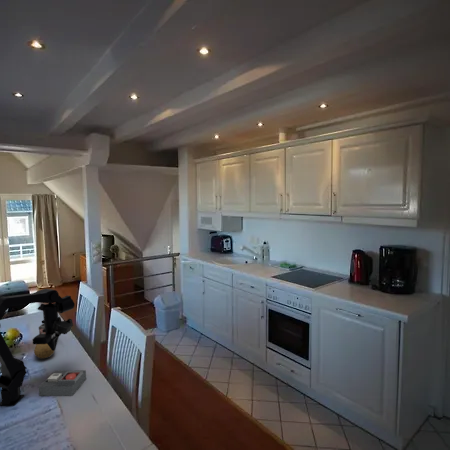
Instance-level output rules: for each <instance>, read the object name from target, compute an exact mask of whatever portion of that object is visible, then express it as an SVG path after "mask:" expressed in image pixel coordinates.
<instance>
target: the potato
mask: <svg viewBox="0 0 450 450" xmlns="http://www.w3.org/2000/svg"><path fill="white" fill-rule="evenodd" d="M33 351H34V352H33V353H34V356H36V357H37V358H38V359H47V358H49V357H51V356H52V355H53V354H54V353H55V350H54V351H52V350H51V348H50V347H49V346H48V344H35V347H34V350H33Z"/></svg>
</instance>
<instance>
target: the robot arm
mask: <svg viewBox="0 0 450 450" xmlns="http://www.w3.org/2000/svg"><path fill="white" fill-rule="evenodd" d="M36 303H41V304H40V305H39V306H38V307H37V310H39V311H42V314H43V319H42V320H41V324H44V328H45V329H43V330H42V331H43V332H45V334H39V333H38V334H37V335H36V336H34V337H33V338H32V345H37V344H48V346H49V347H50V348H51V350H52V351H54V352H55V351H56V348H57V345H58V342H59V341H58V340H59V337H60V336H61V335H67V334H68V333H69V332H71V330H72V328H73V326H74V323H73V319H72V318H68V319H66V320H62V317H61V316H59V314H63V313H66V312H68V311H72V310H73V309H74V308H75V301H74V300H73V299H72V296H71V295H65V296H64V297H61V296H60V294H59V292H58V290H57V289H50V288H43V289H39V290H37V291H36V292H32V293H24V294H16V295H9V296H0V321H1V320H2V319H3V318H4V316H5V314H6V313H7V311H8V309H9V308H10V307H11V308H12V307H15V306H17V307H18V306H22V305H29V304H30V305H31V304H36ZM0 327H2V326H1V324H0ZM2 334H3V333H2V332H1V331H0V372H1V375H0V389H1V390H0V398H1V399H0V400H1V401H0V407H11V406H12V407H14V406H15V405H16V404H17V403H18V402H19V401H20V400H22V399H23V398H24V397H25V394H22V393H21V387H22V386H23V383H24V379H25V377H26V375H27V369H28V368H27V367H26V366H25V363H24V361H23V360H21V359H18V358H16V357H14V355H13V353H12V351H11V349H10V347H9V345H8V344H7V342H6V339H5V338H4V336H3V335H2Z"/></svg>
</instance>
